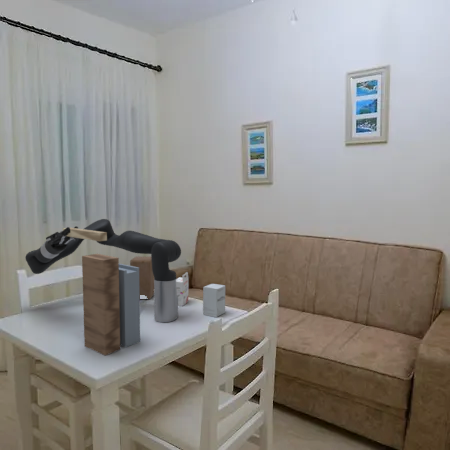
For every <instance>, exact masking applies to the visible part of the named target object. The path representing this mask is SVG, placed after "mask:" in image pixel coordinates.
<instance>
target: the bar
mask: <svg viewBox="0 0 450 450" xmlns="http://www.w3.org/2000/svg"><path fill="white" fill-rule="evenodd" d="M66 228H67V227H64V228H63V227H62V231H63V230H65V229H66ZM69 228H70V233H69V234H68V235H67V236H68V237H75V238H81V239H84V240H87V241H88V240H89V241H95V242H97V241H107V232H100V231H92V230H84V228H78V229H76V228H74V227H69Z"/></svg>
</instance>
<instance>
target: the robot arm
mask: <svg viewBox="0 0 450 450" xmlns="http://www.w3.org/2000/svg"><path fill="white" fill-rule="evenodd" d="M65 228H66V229H65V230H63V229H62V230H61V231H56V232H54V233H52V234H50V235H48V236H47V237H45V241H44V243H42V245H41V246H40V247H39V248H37V249H34V250H31V251H29V252H27V253H26V255H25V259H24V260H25V262H26V263H27V265H28V268H29V269H30V270H31V273H33V274H35V275H39V274H43V273H44V272H45V271H46V270H48V269H49V268H50V267H51V266H52V265H54V264H55V263H57V262H58V261H60V260H62V259H64V258H66V257H68V256H70V255H72V254H74V253H75V251H77V249H78V248H79V247H80V246H81V244H82V242H84V240H85V239H81V238H75V237H68V236H67V235H68V234H69V233H70V228H71V227H70V226H67V227H65ZM73 228H76V229H79V226H74V227H73ZM83 229H84V230H92V231H100V232H107V241H96V243H98V244H100V245H102V246H103V245H104V246H110V247H115V248H118V249H121V250H125V251H127V252H131V253H134V254H143V255H151V256H150V257H151V259H152V272H153V275H154V294H153V300H154V301H153V304H154V307H153V309H154V313H153V315H154V316H153V317H154V319H153V320H154V321H156V322H158V323H169V322H174V321H175V320H177V318H179V306H178V296H177V295H176V279H177V272H176V271H175V270H171V269H170V265H169V263H172V262H175V261H177V260H178V259H179V258H180V257H181V254H182V248H181V247H180V245H179V244H178V243H177V242H176V241H175V240H173V239H172V240H171V239H163V238H158V237H153V236H150V235H147V234H144V233H141V232H138V231H134V230H126V231H123V232H122V233H120V234H116V233H115V232H114V228H113V226H112V223H111V221H110V220H109V219H107V218H101V219H98V220H95V221H94V222H92V223H90V224H89V225H87V226H86V227H84V228H83Z"/></svg>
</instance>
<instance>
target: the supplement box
mask: <svg viewBox="0 0 450 450" xmlns="http://www.w3.org/2000/svg"><path fill="white" fill-rule="evenodd" d="M202 288H203V290H202V294H203V295H202V315H203V316H209V317H212V318H218V317H220V316H222V315H223V314H226V285H224V284H217V283H210V284H207V285H205V286H203V287H202Z"/></svg>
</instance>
